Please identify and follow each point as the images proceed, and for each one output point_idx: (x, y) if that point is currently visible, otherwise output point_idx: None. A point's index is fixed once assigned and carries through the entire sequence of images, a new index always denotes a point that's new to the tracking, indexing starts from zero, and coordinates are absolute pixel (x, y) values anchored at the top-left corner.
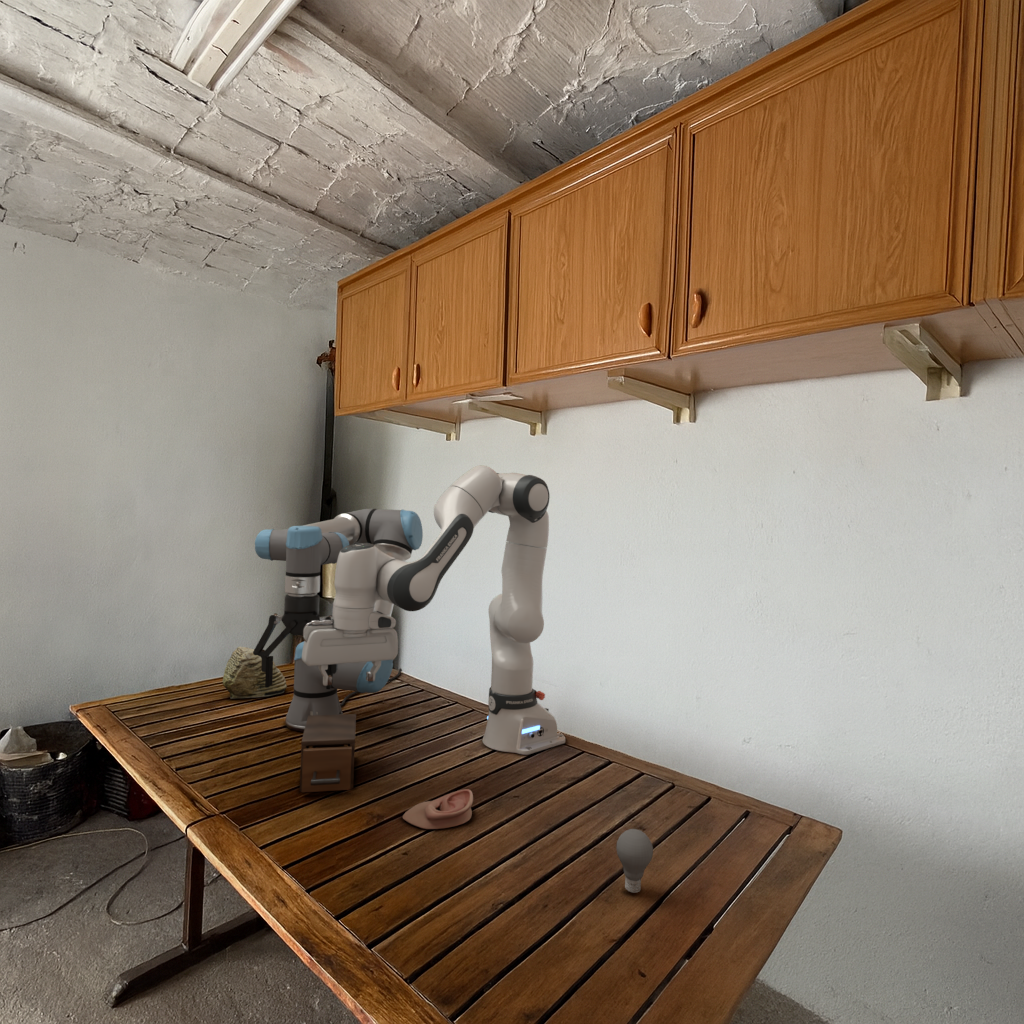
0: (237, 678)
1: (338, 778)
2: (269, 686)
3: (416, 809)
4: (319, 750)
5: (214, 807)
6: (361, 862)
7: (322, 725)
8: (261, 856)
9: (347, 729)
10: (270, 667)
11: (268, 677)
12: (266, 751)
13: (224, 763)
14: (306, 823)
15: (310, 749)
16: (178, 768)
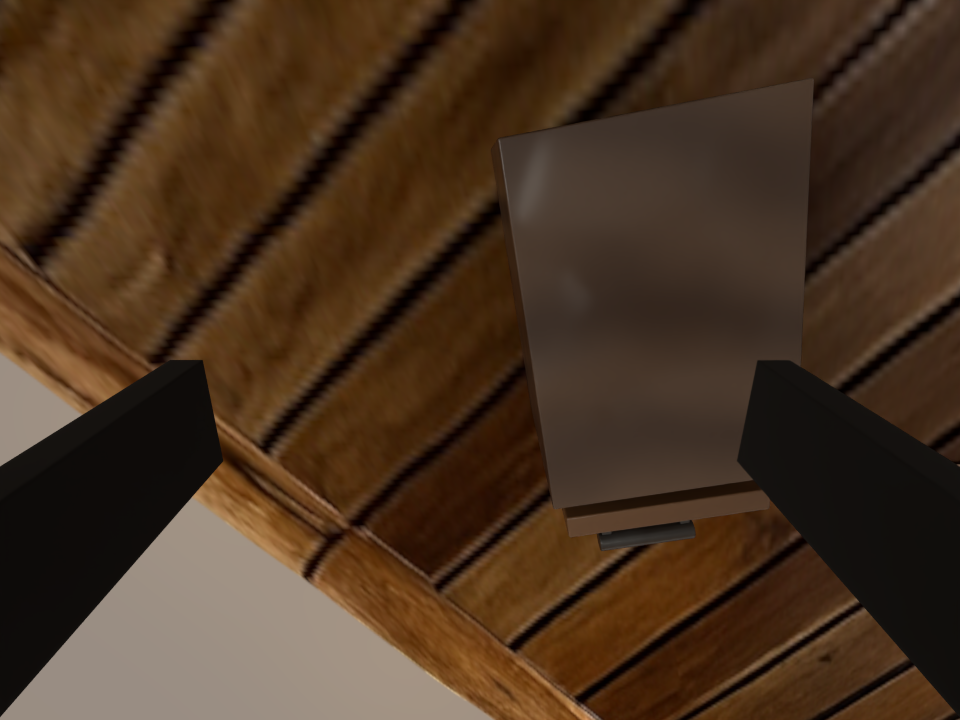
0: None
1: (690, 536)
2: (216, 436)
3: None
4: (634, 527)
5: (320, 499)
6: (731, 684)
7: (617, 310)
8: (522, 672)
9: (759, 358)
10: (90, 553)
11: (167, 521)
12: (280, 43)
13: (172, 192)
14: (590, 562)
15: (596, 524)
16: (32, 248)
